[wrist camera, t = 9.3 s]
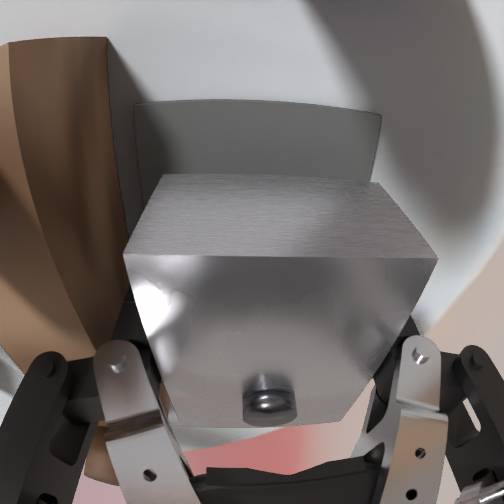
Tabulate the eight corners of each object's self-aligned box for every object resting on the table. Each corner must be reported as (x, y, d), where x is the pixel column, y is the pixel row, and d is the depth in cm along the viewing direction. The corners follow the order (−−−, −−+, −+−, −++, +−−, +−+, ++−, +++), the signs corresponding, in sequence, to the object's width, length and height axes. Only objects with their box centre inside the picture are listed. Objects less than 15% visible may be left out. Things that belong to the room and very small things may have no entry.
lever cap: (163, 174, 8) (112, 276, 5) (378, 182, 8) (451, 278, 5) (188, 352, 13) (180, 439, 9) (325, 351, 13) (342, 434, 10)
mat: (137, 103, 9) (133, 105, 8) (377, 113, 9) (382, 116, 9) (170, 328, 15) (169, 334, 15) (323, 328, 16) (324, 334, 15)
